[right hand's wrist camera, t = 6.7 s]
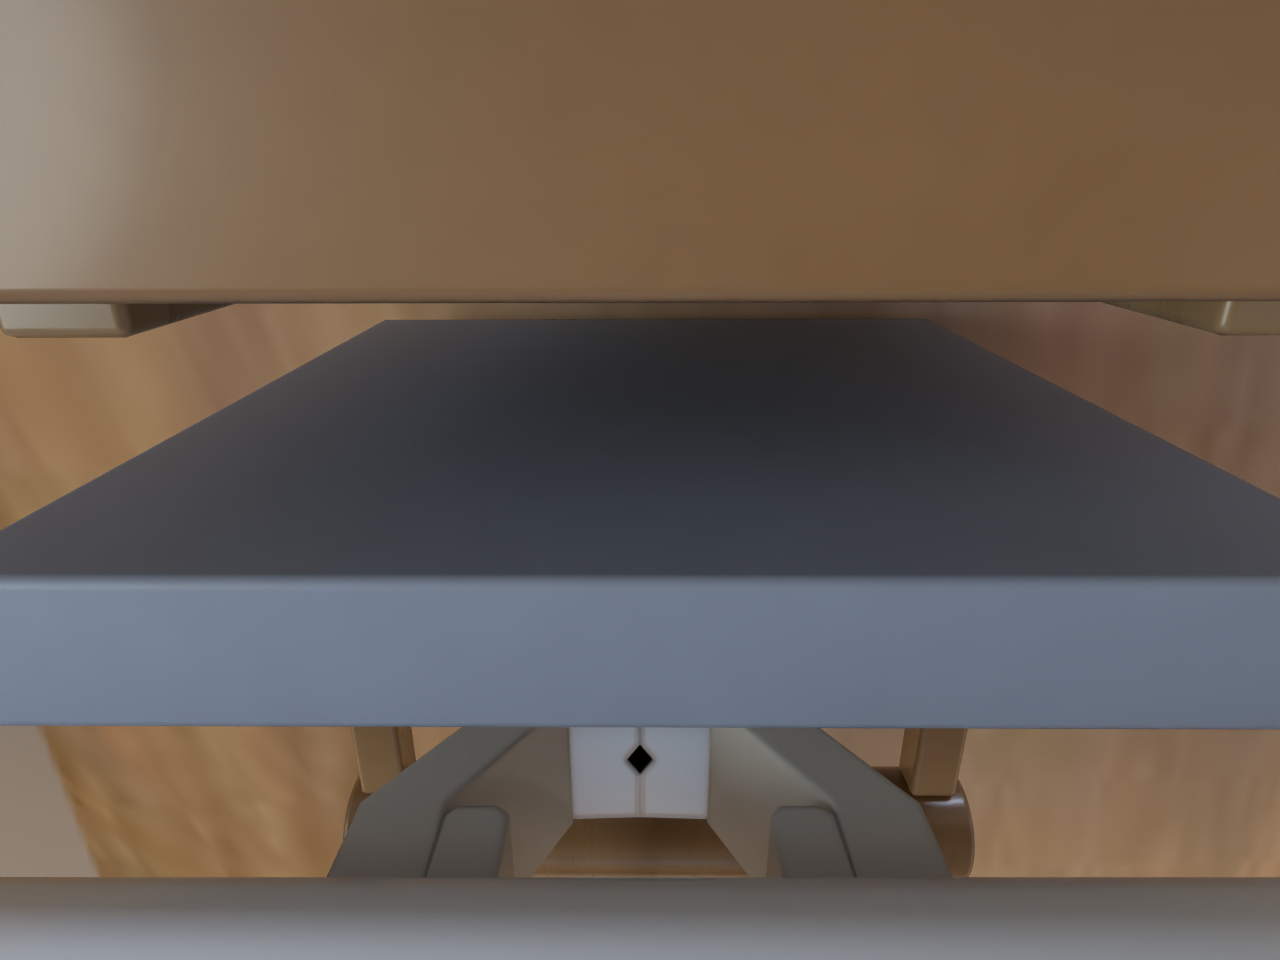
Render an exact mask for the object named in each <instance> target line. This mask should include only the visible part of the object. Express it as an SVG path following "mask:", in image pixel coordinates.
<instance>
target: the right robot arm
mask: <svg viewBox="0 0 1280 960" xmlns="http://www.w3.org/2000/svg"><path fill="white" fill-rule="evenodd" d="M625 817H653V818H690V819H707V823H708V824H709V825H710V827H711V828H712V829H713V830H714V832H715V833H716V834H717V836H718V837H719V838H720V840H721V841H722V842H723V843H724V845H725V846H726V847H727V849H728V850H729V851H730V853H731V854H732V855H733V857H734V858H735V859H736V860H737V862H738V863H739V864H740V866H741V867H742V868H743V870H744V871H745V872H746V873H747V875H748V876H749V877H532V875H533V874H534V873H535V871H536V870H537V869H538V867H539V866H540V865H541V864H542V862H543V861H544V860H545V858H546V857H547V856H548V855H549V853H550V852H551V851H552V849H553V848H554V847H555V845H556V844H557V843H558V842H559V840H560V839H561V838H562V836H563V835H564V834H565V833H566V831H567V830H568V829H569V827H570V826H571V825H572V823H573V819H590V818H625ZM0 960H1280V877H953V876H952V873H951V871H950V869H949V867H948V864H947V862H946V860H945V858H944V855H943V853H942V851H941V849H940V847H939V844H938V842H937V840H936V838H935V835H934V833H933V831H932V829H931V826H930V824H929V822H928V820H927V817H926V815H925V813H924V811H923V809H922V806H921V804H920V803H919V802H917V801H916V800H915V799H913V798H912V797H911V796H909V795H908V794H907V793H905V792H904V791H903V790H901V789H900V788H899V787H897V786H896V785H895V784H893V783H892V782H891V781H889V780H888V779H887V778H885V777H884V776H883V775H881V774H880V773H879V772H877V771H876V770H875V769H873V768H872V767H871V766H869V765H868V764H867V763H865V762H864V761H863V760H861V759H860V758H859V757H857V756H856V755H855V754H853V753H852V752H851V751H849V750H848V749H847V748H845V747H844V746H843V745H841V744H840V743H839V742H837V741H836V740H835V739H833V738H832V737H831V736H829V735H828V734H827V733H825V732H824V731H823V730H821V729H820V728H666V727H461V728H460V729H459V730H457V731H456V732H455V733H453V734H452V735H451V736H449V737H448V738H447V739H445V740H444V741H442V742H441V743H440V744H438V745H437V746H436V747H434V748H433V749H432V750H430V751H429V752H428V753H426V754H425V755H424V756H422V757H421V758H420V759H418V760H417V761H416V762H414V763H413V764H412V765H410V766H409V767H408V768H406V769H405V770H404V771H402V772H401V773H400V774H398V775H397V776H396V777H394V778H393V779H392V780H390V781H389V782H388V783H386V784H385V785H384V786H382V787H381V788H379V789H378V790H377V791H375V792H374V793H373V794H371V795H370V796H369V797H367V798H366V799H365V800H363V801H362V802H361V803H360V805H359V807H358V809H357V812H356V814H355V816H354V818H353V820H352V823H351V825H350V827H349V829H348V831H347V834H346V836H345V838H344V840H343V842H342V845H341V847H340V849H339V851H338V853H337V856H336V858H335V860H334V862H333V864H332V867H331V869H330V871H329V873H328V875H327V877H0Z"/></svg>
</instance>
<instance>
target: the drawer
mask: <svg viewBox="0 0 1280 960" xmlns="http://www.w3.org/2000/svg"><path fill="white" fill-rule="evenodd" d="M1103 303H1107V304H1110V305H1114V306H1117V307H1121V308H1125V309H1128V310H1132V311H1136V312H1139V313H1143V314H1147V315H1150V316H1154V317H1157V318H1161V319H1165V320H1168V321H1172V322H1176V323H1179V324H1183V325H1186V326H1190V327H1194V328H1197V329H1201V330H1205V331H1208V332H1212V333H1215V334H1219V335H1280V301H1143V302H1103ZM233 304H236V303H233ZM233 304H0V328H1V329H2V331H3V332H4V333H5V334H7V335H10V336H14V337H18V338H84V337H129V336H132V335H135V334H138V333H142V332H145V331H148V330H151V329H155V328H158V327H161V326H164V325H168V324H171V323H174V322H177V321H181V320H184V319H187V318H190V317H194V316H197V315H200V314H203V313H207V312H210V311H213V310H216V309H220V308H223V307H226V306H229V305H233ZM0 725H12V726H14V725H17V726H21V725H22V726H339V727H351V730H352V736H353V741H354V747H355V752H356V758H357V764H358V769H359V777H358V779H357V781H356V783H355V785H354V788H353V790H352V793H351V796H350V799H349V803H348V807H347V812H346V817H345V824H344V834H343V840H344V838H345V836H346V834H347V831H348V829H349V827H350V825H351V823H352V820H353V818H354V816H355V814H356V812H357V809H358V807H359V805H360V803H361V802H362V801H363V800H365V799H366V798H367V797H369V796H370V795H371V794H373V793H374V792H375V791H377V790H378V789H379V788H381V787H382V786H384V785H385V784H386V783H388V782H389V781H390V780H392V779H393V778H394V777H396V776H397V775H398V774H400V773H401V772H402V771H404V770H405V769H406V768H408V767H409V766H410V765H412V764H413V763H414V762H416V758H415V751H414V744H413V737H412V730H411V727H666V728H905V732H904V738H903V745H902V751H901V757H900V764H899V766H900V767H872V768H873V769H875V770H876V771H877V772H879V773H880V774H881V775H883V776H884V777H885V778H887V779H888V780H889V781H891V782H892V783H893V784H895V785H896V786H897V787H899V788H900V789H901V790H903V791H904V792H905V793H907V794H908V795H909V796H911V797H912V798H913V799H915V800H916V801H917V802H919V803H920V804H921V806H922V809H923V811H924V813H925V815H926V817H927V820H928V822H929V824H930V826H931V829H932V831H933V833H934V835H935V838H936V840H937V842H938V844H939V847H940V849H941V851H942V853H943V855H944V858H945V860H946V862H947V864H948V867H949V869H950V871H951V873H952V876H953V877H968V876H969V875H970V873H971V870H972V867H973V862H974V849H975V845H974V829H973V822H972V817H971V812H970V808H969V804H968V801H967V798H966V795H965V792H964V790H963V788H962V785H961V783H960V782H959V780H958V775H959V770H960V764H961V759H962V754H963V749H964V744H965V739H966V733H967V728H992V729H1280V499H1278V498H1276V497H1274V496H1272V495H1270V494H1269V493H1267V492H1265V491H1263V490H1261V489H1259V488H1257V487H1255V486H1253V485H1251V484H1249V483H1247V482H1245V481H1243V480H1241V479H1239V478H1237V477H1235V476H1233V475H1231V474H1229V473H1227V472H1225V471H1223V470H1221V469H1219V468H1217V467H1216V466H1214V465H1212V464H1210V463H1208V462H1206V461H1204V460H1202V459H1200V458H1198V457H1196V456H1194V455H1192V454H1190V453H1188V452H1186V451H1184V450H1182V449H1180V448H1178V447H1176V446H1174V445H1172V444H1170V443H1168V442H1166V441H1165V440H1163V439H1161V438H1159V437H1157V436H1155V435H1153V434H1151V433H1149V432H1147V431H1145V430H1143V429H1141V428H1139V427H1137V426H1135V425H1133V424H1131V423H1129V422H1127V421H1125V420H1123V419H1121V418H1119V417H1117V416H1115V415H1114V414H1112V413H1110V412H1108V411H1106V410H1104V409H1102V408H1100V407H1098V406H1096V405H1094V404H1092V403H1090V402H1088V401H1086V400H1084V399H1082V398H1080V397H1078V396H1076V395H1074V394H1072V393H1070V392H1068V391H1066V390H1064V389H1063V388H1061V387H1059V386H1057V385H1055V384H1053V383H1051V382H1049V381H1047V380H1045V379H1043V378H1041V377H1039V376H1037V375H1035V374H1033V373H1031V372H1029V371H1027V370H1025V369H1023V368H1021V367H1019V366H1017V365H1015V364H1013V363H1011V362H1010V361H1008V360H1006V359H1004V358H1002V357H1000V356H998V355H996V354H994V353H992V352H990V351H988V350H986V349H984V348H982V347H980V346H978V345H976V344H974V343H972V342H970V341H968V340H966V339H964V338H962V337H960V336H959V335H957V334H955V333H953V332H951V331H949V330H947V329H945V328H943V327H941V326H939V325H937V324H935V323H933V322H931V321H929V320H927V319H668V320H385V321H383V322H381V323H379V324H377V325H375V326H373V327H372V328H370V329H368V330H366V331H364V332H362V333H361V334H359V335H357V336H355V337H353V338H351V339H350V340H348V341H346V342H344V343H342V344H340V345H339V346H337V347H335V348H333V349H331V350H330V351H328V352H326V353H324V354H322V355H320V356H319V357H317V358H315V359H313V360H311V361H309V362H308V363H306V364H304V365H302V366H300V367H298V368H297V369H295V370H293V371H291V372H289V373H287V374H286V375H284V376H282V377H280V378H278V379H277V380H275V381H273V382H271V383H269V384H267V385H266V386H264V387H262V388H260V389H258V390H256V391H255V392H253V393H251V394H249V395H247V396H245V397H244V398H242V399H240V400H238V401H236V402H234V403H233V404H231V405H229V406H227V407H225V408H223V409H222V410H220V411H218V412H216V413H214V414H213V415H211V416H209V417H207V418H205V419H203V420H202V421H200V422H198V423H196V424H194V425H192V426H191V427H189V428H187V429H185V430H183V431H181V432H180V433H178V434H176V435H174V436H172V437H170V438H169V439H167V440H165V441H163V442H161V443H159V444H158V445H156V446H154V447H152V448H150V449H149V450H147V451H145V452H143V453H141V454H139V455H138V456H136V457H134V458H132V459H130V460H128V461H127V462H125V463H123V464H121V465H119V466H117V467H116V468H114V469H112V470H110V471H108V472H106V473H105V474H103V475H101V476H99V477H97V478H95V479H94V480H92V481H90V482H88V483H86V484H85V485H83V486H81V487H79V488H77V489H75V490H74V491H72V492H70V493H68V494H66V495H64V496H63V497H61V498H59V499H57V500H55V501H53V502H52V503H50V504H48V505H46V506H44V507H42V508H41V509H39V510H37V511H35V512H33V513H31V514H30V515H28V516H26V517H24V518H22V519H21V520H19V521H17V522H15V523H13V524H11V525H10V526H8V527H6V528H4V529H2V530H0ZM532 877H749V876H748V875H747V873H746V872H745V871H744V870H743V868H742V867H741V866H740V864H739V863H738V862H737V860H736V859H735V858H734V857H733V855H732V854H731V853H730V851H729V850H728V849H727V847H726V846H725V845H724V843H723V842H722V841H721V840H720V838H719V837H718V836H717V834H716V833H715V832H714V830H713V829H712V828H711V827H710V825H709V824H708V823H707V819H690V818H653V817H625V818H590V819H573V823H572V825H571V826H570V827H569V829H568V830H567V831H566V833H565V834H564V835H563V836H562V838H561V839H560V840H559V842H558V843H557V844H556V845H555V847H554V848H553V849H552V851H551V852H550V853H549V855H548V856H547V857H546V858H545V860H544V861H543V862H542V864H541V865H540V866H539V867H538V869H537V870H536V871H535V873H534V874H533V875H532Z"/></svg>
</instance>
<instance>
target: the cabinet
mask: <svg viewBox="0 0 1280 960" xmlns="http://www.w3.org/2000/svg"><path fill="white" fill-rule="evenodd" d="M1143 301H1280V0H0V304H233V303H689V302H1143Z"/></svg>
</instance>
